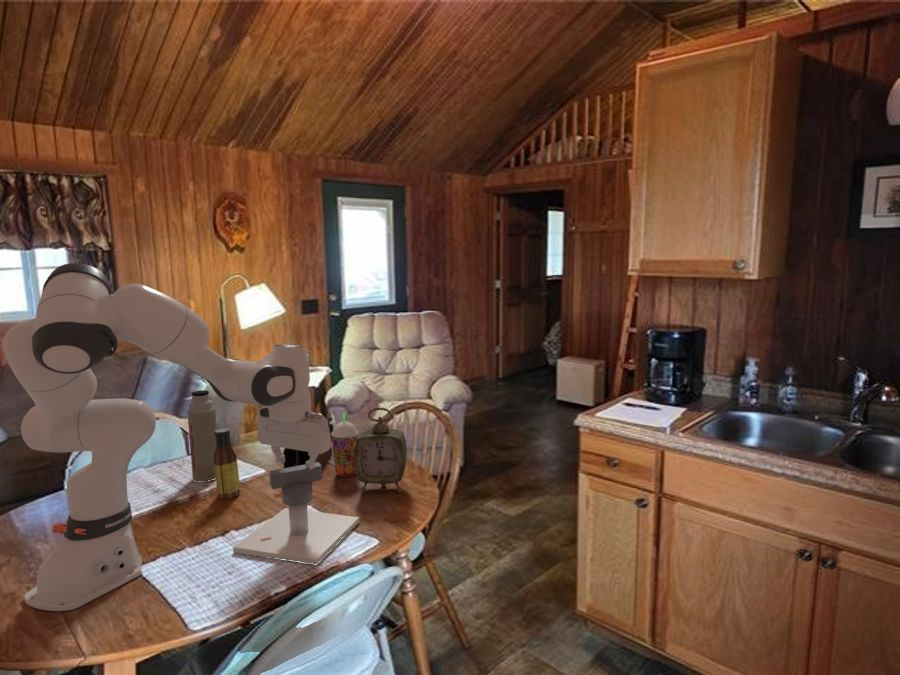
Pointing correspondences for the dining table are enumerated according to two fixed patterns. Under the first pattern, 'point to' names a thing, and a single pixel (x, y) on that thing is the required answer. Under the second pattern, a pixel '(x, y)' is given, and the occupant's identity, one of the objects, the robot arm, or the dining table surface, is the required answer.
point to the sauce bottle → (226, 466)
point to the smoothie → (344, 447)
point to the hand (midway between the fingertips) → (295, 465)
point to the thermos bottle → (202, 435)
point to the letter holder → (303, 455)
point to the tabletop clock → (380, 454)
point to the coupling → (295, 483)
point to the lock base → (297, 535)
